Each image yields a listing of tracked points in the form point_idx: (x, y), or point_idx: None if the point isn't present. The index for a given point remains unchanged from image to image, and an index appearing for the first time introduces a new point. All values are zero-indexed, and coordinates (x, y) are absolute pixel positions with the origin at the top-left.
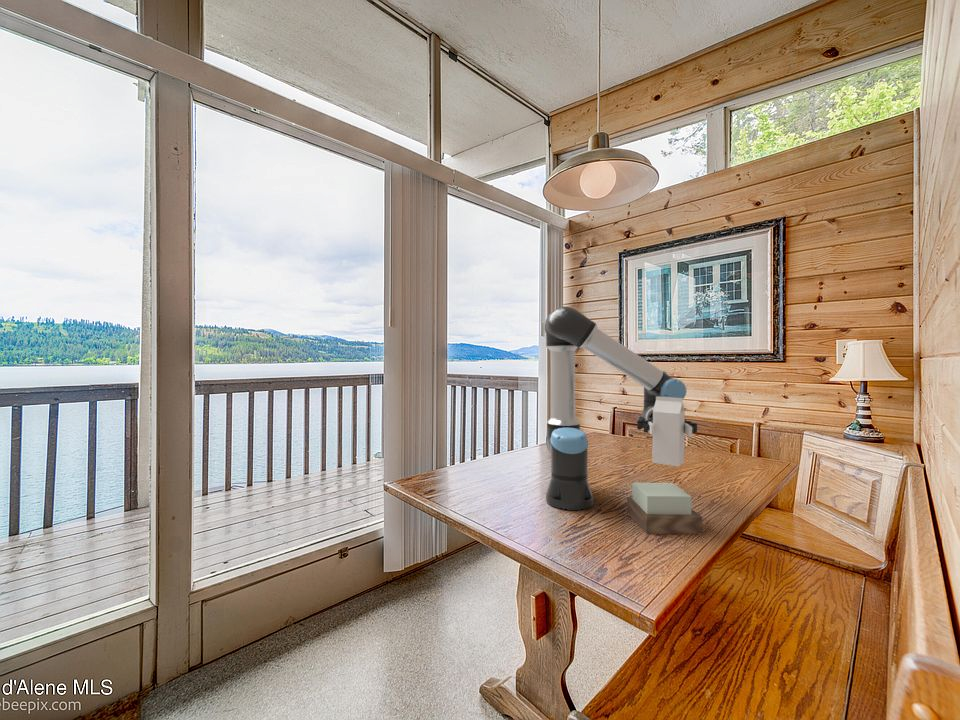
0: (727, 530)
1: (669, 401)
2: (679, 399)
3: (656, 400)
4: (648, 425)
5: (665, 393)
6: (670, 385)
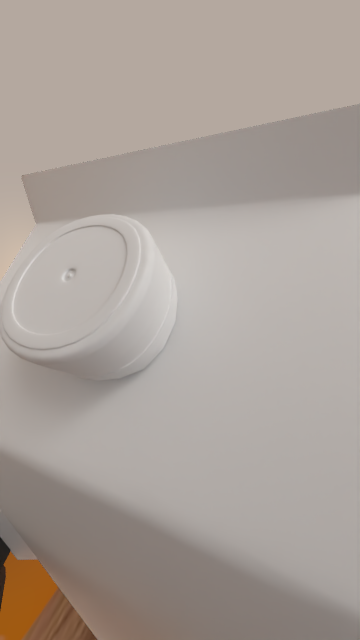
0: (54, 610)
1: (156, 220)
2: (56, 194)
3: (357, 203)
4: None
5: None
6: None
